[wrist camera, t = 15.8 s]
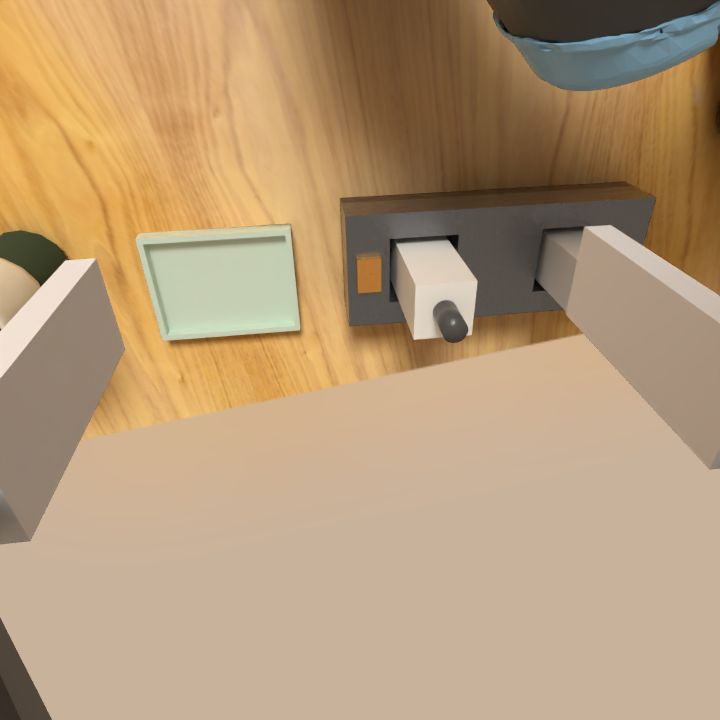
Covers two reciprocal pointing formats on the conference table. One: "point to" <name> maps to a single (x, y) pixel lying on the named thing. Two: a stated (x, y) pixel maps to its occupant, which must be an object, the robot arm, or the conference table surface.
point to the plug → (433, 287)
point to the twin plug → (558, 261)
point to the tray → (221, 281)
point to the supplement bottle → (718, 119)
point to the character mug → (24, 269)
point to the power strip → (477, 239)
